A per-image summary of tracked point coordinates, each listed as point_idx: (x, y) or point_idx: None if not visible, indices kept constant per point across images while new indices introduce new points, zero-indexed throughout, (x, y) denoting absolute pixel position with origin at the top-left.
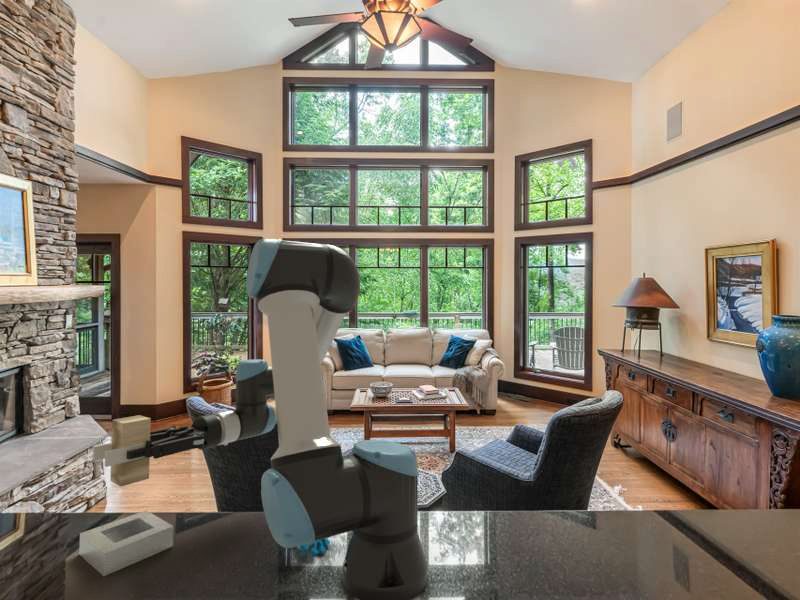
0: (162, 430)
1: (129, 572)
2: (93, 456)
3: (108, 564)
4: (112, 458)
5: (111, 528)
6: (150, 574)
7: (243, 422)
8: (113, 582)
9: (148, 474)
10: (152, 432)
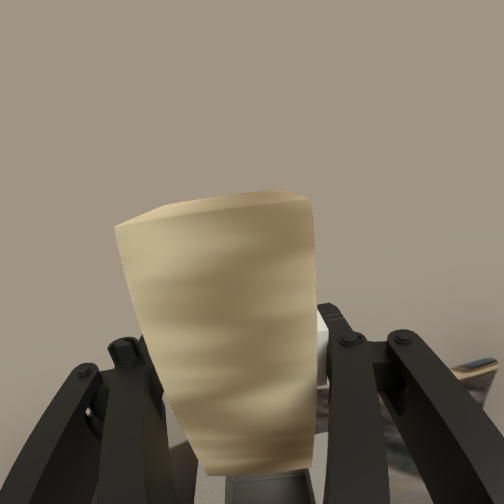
0: (481, 481)
1: (184, 486)
2: None
3: None
4: None
5: (310, 475)
6: None
7: None
8: (179, 465)
9: (204, 467)
10: (444, 422)
